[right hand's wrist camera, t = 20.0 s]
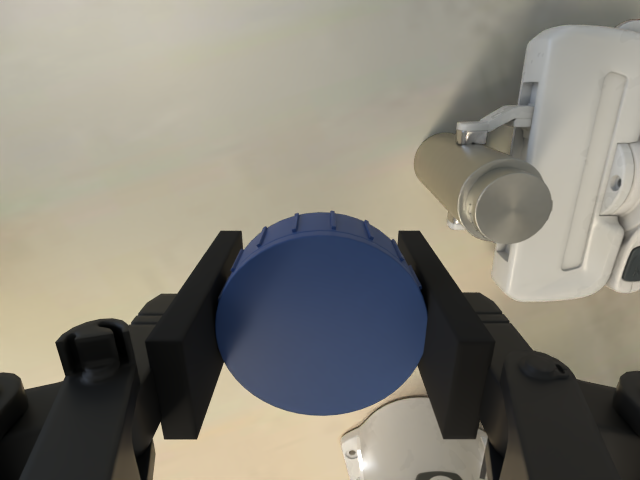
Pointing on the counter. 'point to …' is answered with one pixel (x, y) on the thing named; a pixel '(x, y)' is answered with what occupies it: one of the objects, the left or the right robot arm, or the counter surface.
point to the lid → (321, 315)
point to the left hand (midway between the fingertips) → (453, 177)
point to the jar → (484, 188)
